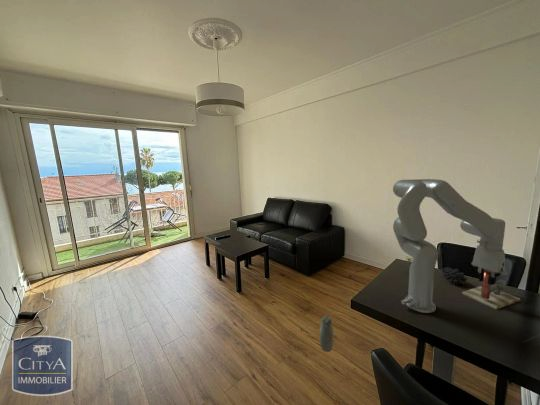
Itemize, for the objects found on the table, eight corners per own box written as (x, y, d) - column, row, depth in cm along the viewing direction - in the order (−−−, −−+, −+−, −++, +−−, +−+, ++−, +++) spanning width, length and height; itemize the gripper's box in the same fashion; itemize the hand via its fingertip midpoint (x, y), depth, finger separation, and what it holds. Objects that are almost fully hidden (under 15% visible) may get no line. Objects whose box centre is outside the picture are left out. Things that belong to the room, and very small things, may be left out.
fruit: (435, 278, 137) (457, 289, 122) (432, 266, 136) (453, 275, 121) (448, 273, 137) (472, 284, 122) (445, 261, 137) (468, 270, 122)
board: (496, 309, 104) (497, 300, 103) (462, 293, 117) (462, 285, 116) (519, 300, 109) (521, 291, 108) (484, 286, 122) (485, 278, 122)
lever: (489, 301, 106) (492, 274, 104) (477, 296, 110) (480, 270, 108) (508, 290, 114) (511, 264, 112) (496, 286, 118) (499, 261, 116)
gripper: (465, 241, 111) (461, 276, 113) (509, 252, 95) (504, 292, 98) (475, 239, 113) (471, 273, 116) (520, 249, 98) (514, 289, 101)
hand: (486, 282), depth 107 cm, fingers closed on lever, 3 cm apart
